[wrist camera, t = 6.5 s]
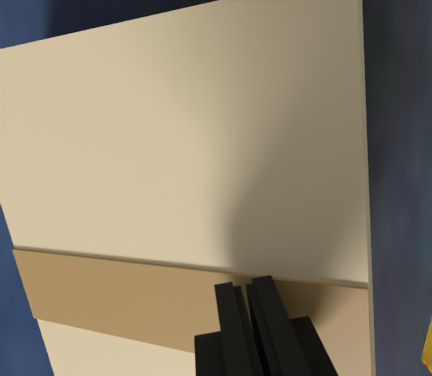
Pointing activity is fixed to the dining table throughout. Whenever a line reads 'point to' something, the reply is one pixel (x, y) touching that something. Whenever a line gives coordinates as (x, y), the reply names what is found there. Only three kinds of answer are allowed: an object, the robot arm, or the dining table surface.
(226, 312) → the robot arm
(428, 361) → the beverage box
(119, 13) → the dining table surface
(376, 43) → the dining table surface
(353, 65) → the lid
